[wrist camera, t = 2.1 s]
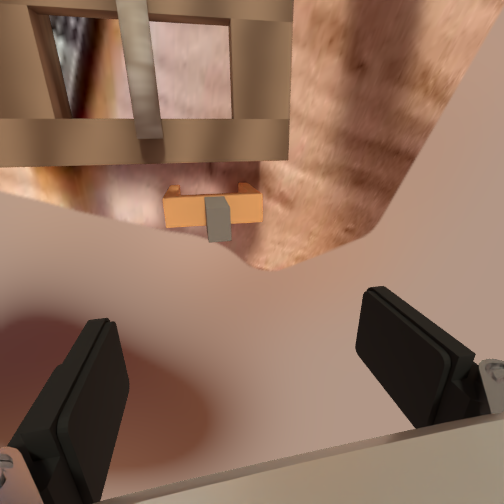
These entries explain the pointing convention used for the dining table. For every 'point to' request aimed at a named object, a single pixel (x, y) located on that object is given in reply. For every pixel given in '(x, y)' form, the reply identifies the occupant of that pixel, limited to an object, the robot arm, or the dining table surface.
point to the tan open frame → (144, 86)
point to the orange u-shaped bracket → (213, 210)
